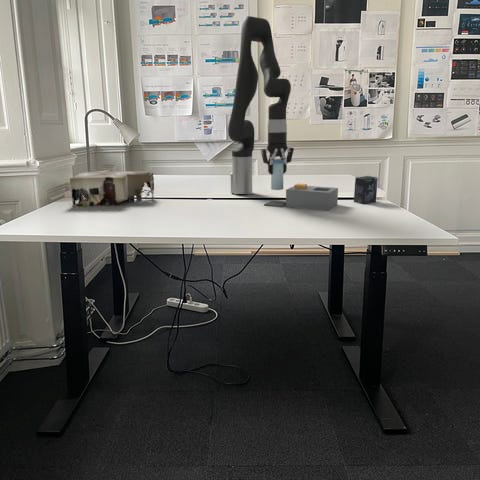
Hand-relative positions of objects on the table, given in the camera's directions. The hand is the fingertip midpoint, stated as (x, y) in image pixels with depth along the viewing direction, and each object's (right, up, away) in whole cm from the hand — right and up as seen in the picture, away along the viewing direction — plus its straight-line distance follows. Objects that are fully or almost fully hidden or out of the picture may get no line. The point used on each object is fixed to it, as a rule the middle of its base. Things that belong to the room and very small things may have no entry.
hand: (277, 173), depth 199 cm
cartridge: (0, -6, +2) cm, 6 cm away
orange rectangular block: (+10, -9, +2) cm, 14 cm away
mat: (0, -12, +4) cm, 13 cm away
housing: (+14, -13, +1) cm, 19 cm away
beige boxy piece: (-69, -12, +11) cm, 71 cm away
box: (+38, -11, +6) cm, 40 cm away
